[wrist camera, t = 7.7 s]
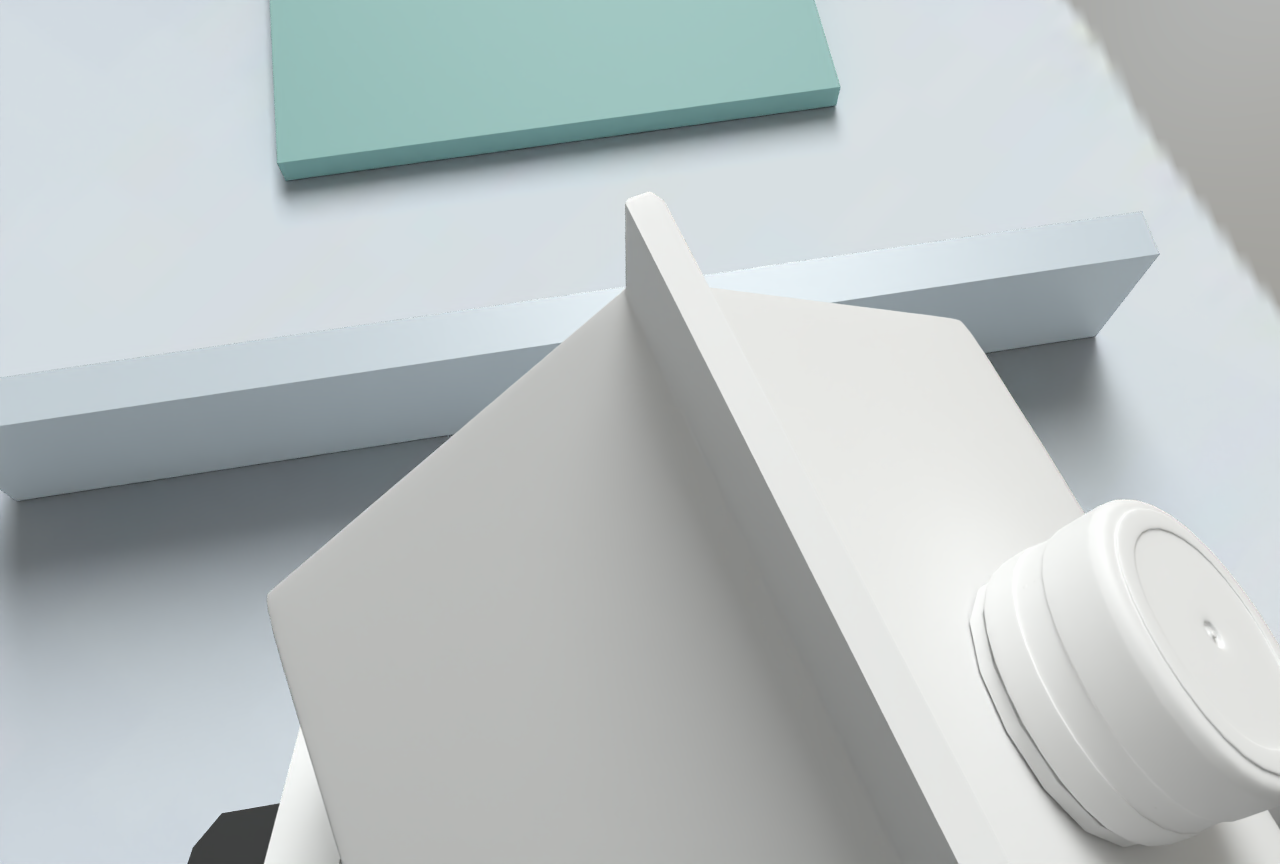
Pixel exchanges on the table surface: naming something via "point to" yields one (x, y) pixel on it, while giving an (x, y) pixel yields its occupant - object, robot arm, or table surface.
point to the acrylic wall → (503, 358)
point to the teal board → (527, 73)
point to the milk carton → (772, 616)
